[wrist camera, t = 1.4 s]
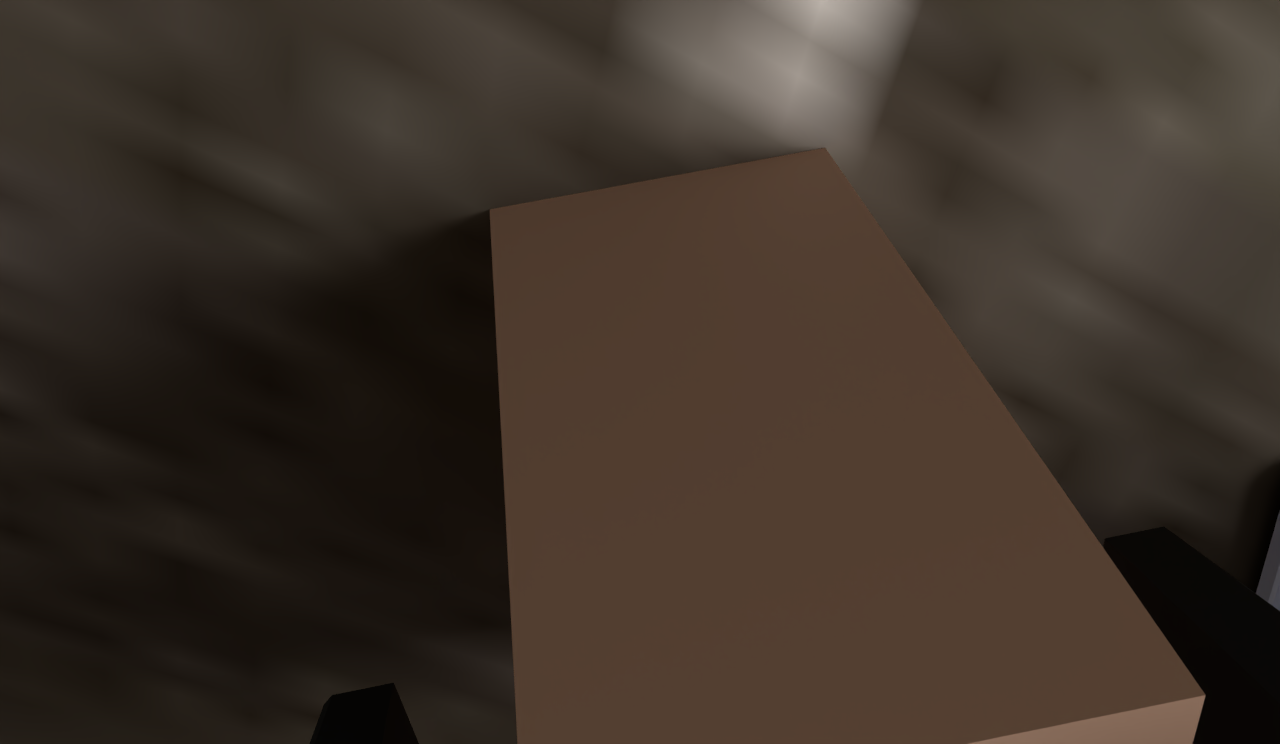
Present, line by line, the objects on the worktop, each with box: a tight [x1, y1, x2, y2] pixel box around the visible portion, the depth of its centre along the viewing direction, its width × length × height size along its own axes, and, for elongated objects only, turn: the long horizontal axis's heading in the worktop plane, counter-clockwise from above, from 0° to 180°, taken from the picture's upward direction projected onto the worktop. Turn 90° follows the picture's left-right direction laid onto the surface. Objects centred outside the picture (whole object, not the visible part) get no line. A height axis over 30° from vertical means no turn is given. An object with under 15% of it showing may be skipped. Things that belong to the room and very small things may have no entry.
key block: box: [490, 148, 1206, 744], centre depth 11 cm, size 4×7×8 cm, turn 7°
